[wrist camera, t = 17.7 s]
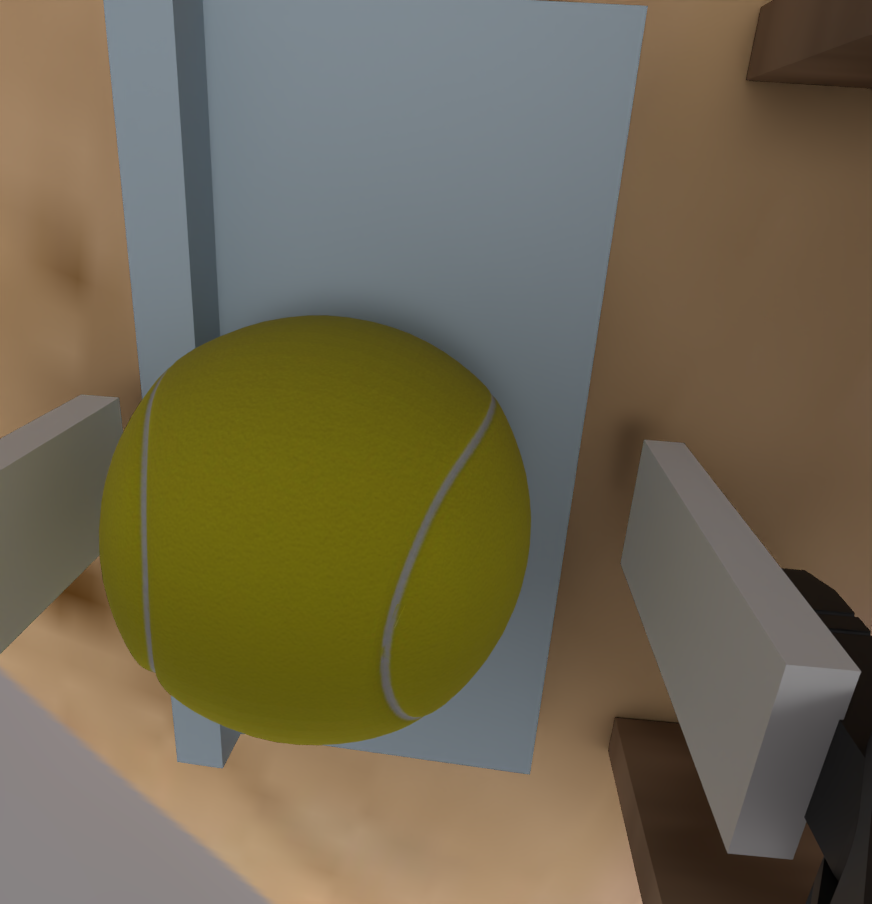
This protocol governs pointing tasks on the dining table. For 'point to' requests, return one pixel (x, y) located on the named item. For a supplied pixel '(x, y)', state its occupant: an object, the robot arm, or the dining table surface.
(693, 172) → the dining table surface
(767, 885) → the crate
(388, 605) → the tennis ball
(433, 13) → the blue-grey book
